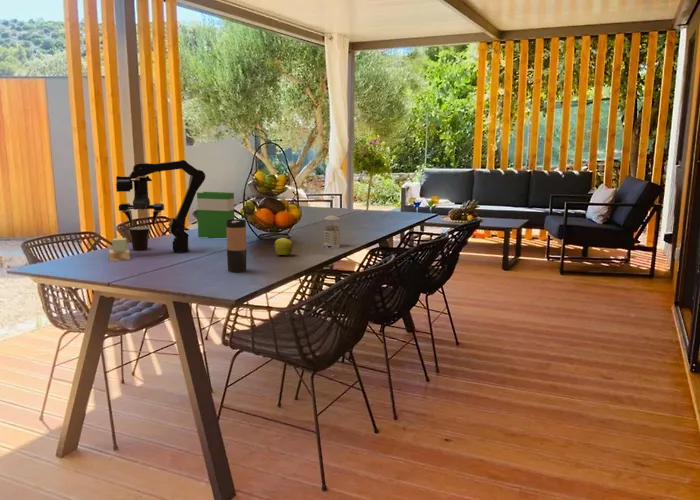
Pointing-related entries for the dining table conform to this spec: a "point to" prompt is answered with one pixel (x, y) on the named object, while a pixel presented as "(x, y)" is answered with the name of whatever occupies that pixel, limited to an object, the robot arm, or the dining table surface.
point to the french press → (332, 231)
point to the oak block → (119, 255)
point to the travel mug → (236, 245)
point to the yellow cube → (119, 244)
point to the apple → (283, 246)
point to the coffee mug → (139, 238)
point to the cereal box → (214, 213)
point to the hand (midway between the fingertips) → (142, 226)
